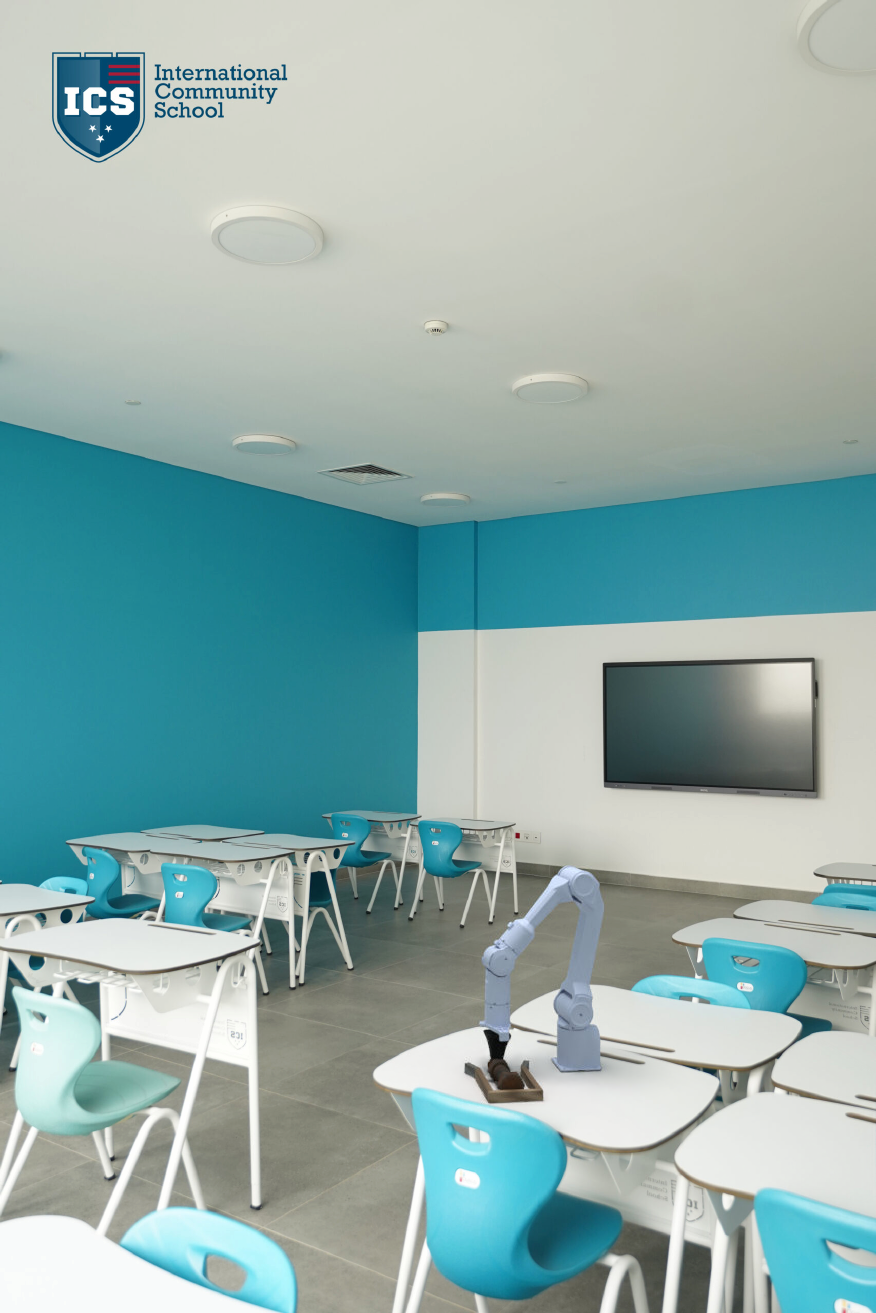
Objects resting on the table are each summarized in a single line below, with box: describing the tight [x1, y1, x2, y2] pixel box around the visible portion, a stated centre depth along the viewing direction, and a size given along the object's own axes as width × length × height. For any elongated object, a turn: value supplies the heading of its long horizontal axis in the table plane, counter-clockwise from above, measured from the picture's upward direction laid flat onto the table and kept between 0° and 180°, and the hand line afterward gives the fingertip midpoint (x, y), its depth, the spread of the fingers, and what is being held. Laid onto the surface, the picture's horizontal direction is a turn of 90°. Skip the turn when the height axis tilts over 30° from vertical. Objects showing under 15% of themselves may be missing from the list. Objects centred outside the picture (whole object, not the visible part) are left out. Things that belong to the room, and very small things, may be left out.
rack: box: [464, 1059, 544, 1104], centre depth 203 cm, size 15×18×2 cm
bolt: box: [487, 1058, 526, 1090], centre depth 203 cm, size 6×5×15 cm
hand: (496, 1064), depth 211 cm, fingers closed
